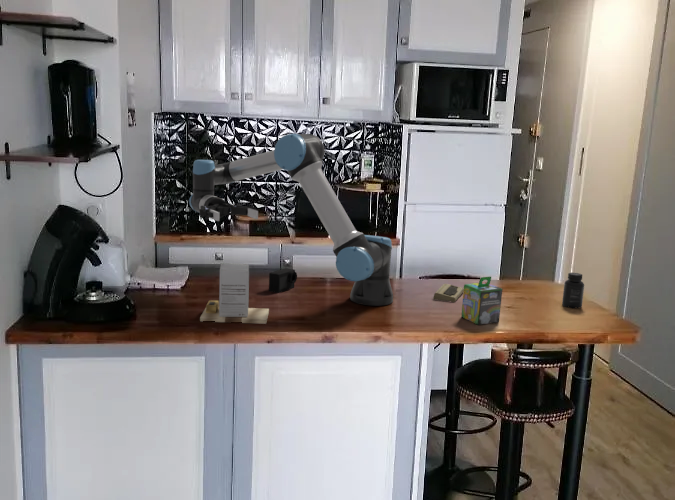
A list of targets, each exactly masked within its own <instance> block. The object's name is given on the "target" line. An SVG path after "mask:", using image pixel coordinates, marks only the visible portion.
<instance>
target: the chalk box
mask: <svg viewBox="0 0 675 500" xmlns="http://www.w3.org/2000/svg"><path fill="white" fill-rule="evenodd" d="M491 280H492V276H481V277H480V278H479V281H478V282H472V283H471V282H470V283H465V284H463V293H462V306H461V318H462V317H463V318H462V319H465V320H467V321H469V322H471V323H474V324H476V325H477V326H479V325H480V326H481V325H487V324H496V323H500V315H501V307H502V296H503V288H502V287H499V286H496V285H494V284H491ZM485 281H486V282H485Z"/></svg>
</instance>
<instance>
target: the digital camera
mask: <svg viewBox="0 0 675 500" xmlns="http://www.w3.org/2000/svg"><path fill="white" fill-rule="evenodd" d="M268 275H269V276H268V278H269V279H268V292H271V293H275V294H280V293H283V292H285V291H289V290H292V289H294V288H295V283H296V282H297V280H298V274H297V272H296V270H295V269H293V268H285V267H284V268H281V269H278V270H275V271H272V272H269V273H268Z"/></svg>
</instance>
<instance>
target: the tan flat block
mask: <svg viewBox="0 0 675 500" xmlns="http://www.w3.org/2000/svg"><path fill="white" fill-rule="evenodd" d="M463 291H464V287H461V286H457V285H453V284H449V283H443V284H442V285H441V286H440V287H439V288H438V289H437V291H435V292H434V294H433V298H432V299H433V300H435V301H441V300H442V302H448V301H451V302H450V303H456V302H457V300H458V299H459V298H458V297H460V296H461V295H463Z"/></svg>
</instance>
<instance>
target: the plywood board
mask: <svg viewBox="0 0 675 500" xmlns="http://www.w3.org/2000/svg"><path fill="white" fill-rule="evenodd" d="M269 312H270V308H263V307H262V308H259V307H256V308H255V307H248V317H219V300H215V299H213V300H212V299H210V300H208V302H207V304H206V305H205V308H204V310H203V311H202V314H201V315H200V317H199V321H200V322H203V321H215V322H214V323H231V322H242V323H241V324H260V325H261V324H263V325H264V324H265V325H267V321H268V318H269V317H268V316H269V314H270V313H269Z"/></svg>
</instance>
